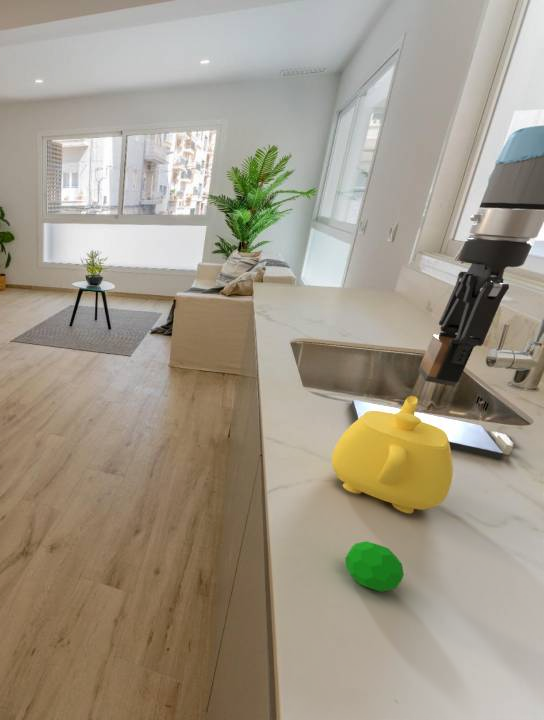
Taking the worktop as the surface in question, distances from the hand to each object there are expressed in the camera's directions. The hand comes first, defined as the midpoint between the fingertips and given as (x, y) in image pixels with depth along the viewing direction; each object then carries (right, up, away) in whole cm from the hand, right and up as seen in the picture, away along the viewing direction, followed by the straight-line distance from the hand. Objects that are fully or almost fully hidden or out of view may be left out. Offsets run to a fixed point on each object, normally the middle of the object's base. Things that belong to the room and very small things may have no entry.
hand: (441, 373), depth 75 cm
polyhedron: (-35, -23, -28) cm, 50 cm away
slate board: (0, -11, +5) cm, 12 cm away
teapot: (-21, -17, -12) cm, 29 cm away
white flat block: (+12, -12, +2) cm, 17 cm away
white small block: (+9, -12, -1) cm, 15 cm away
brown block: (-1, -1, +1) cm, 1 cm away
